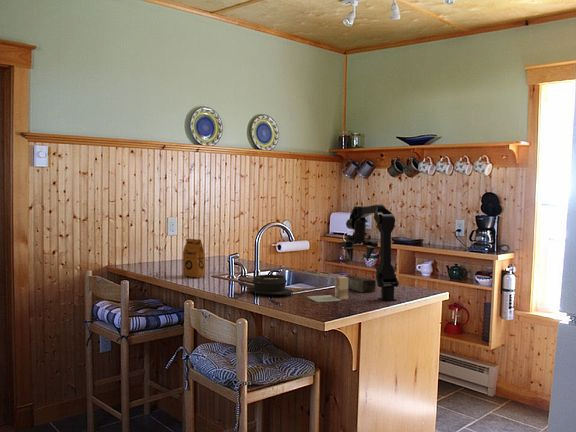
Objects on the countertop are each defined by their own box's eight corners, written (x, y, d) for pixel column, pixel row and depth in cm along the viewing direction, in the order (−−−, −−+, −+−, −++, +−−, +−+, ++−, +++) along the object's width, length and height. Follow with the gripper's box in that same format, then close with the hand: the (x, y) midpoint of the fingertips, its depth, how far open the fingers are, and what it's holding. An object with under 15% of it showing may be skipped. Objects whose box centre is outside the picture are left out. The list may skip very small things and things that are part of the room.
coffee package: (195, 279, 310) (195, 240, 309) (180, 277, 317) (180, 238, 316) (208, 277, 318) (208, 238, 317) (193, 274, 325) (193, 237, 324)
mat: (341, 300, 255) (341, 299, 255) (317, 302, 251) (317, 301, 251) (330, 295, 266) (330, 295, 266) (307, 297, 262) (307, 296, 262)
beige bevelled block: (348, 299, 260) (348, 277, 259) (340, 299, 258) (340, 278, 258) (342, 296, 265) (342, 275, 265) (334, 297, 264) (335, 276, 263)
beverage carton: (355, 286, 296) (355, 273, 295) (376, 292, 278) (376, 279, 278) (342, 287, 292) (342, 274, 292) (363, 293, 275) (363, 280, 275)
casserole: (237, 293, 271) (237, 276, 270) (262, 288, 285) (262, 272, 285) (277, 300, 255) (277, 282, 255) (301, 294, 270) (301, 277, 270)
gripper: (368, 229, 295) (367, 258, 296) (336, 229, 288) (336, 259, 289) (378, 230, 284) (378, 261, 285) (346, 231, 278) (345, 262, 279)
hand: (359, 260), depth 285 cm, fingers open, 9 cm apart
